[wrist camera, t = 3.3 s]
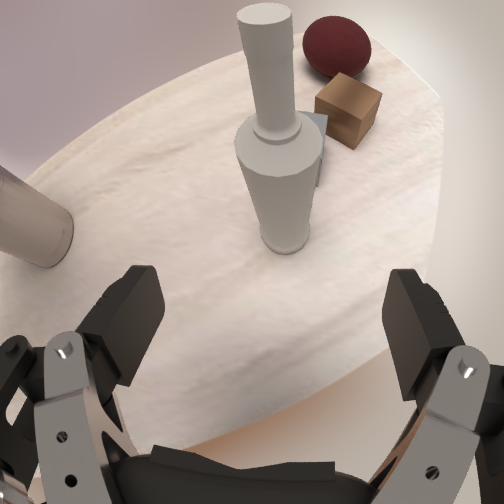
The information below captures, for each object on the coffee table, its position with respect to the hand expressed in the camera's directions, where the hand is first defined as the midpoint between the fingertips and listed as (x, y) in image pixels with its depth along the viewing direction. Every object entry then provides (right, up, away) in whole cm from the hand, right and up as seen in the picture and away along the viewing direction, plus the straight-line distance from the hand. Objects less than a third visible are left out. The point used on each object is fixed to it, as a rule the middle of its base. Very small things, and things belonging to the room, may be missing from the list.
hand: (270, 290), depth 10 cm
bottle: (+3, +3, +22) cm, 23 cm away
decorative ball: (+12, +29, +29) cm, 43 cm away
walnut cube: (+11, +18, +25) cm, 33 cm away
